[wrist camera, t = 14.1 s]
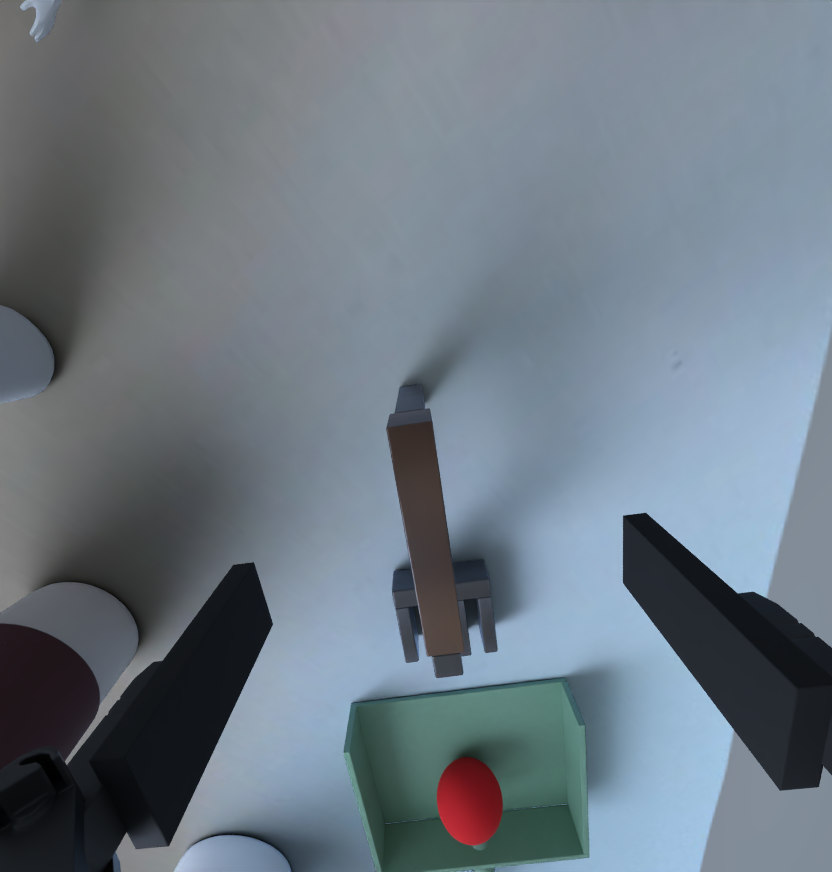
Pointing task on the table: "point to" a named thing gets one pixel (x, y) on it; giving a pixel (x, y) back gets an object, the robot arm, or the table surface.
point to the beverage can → (22, 357)
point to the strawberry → (469, 801)
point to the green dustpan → (481, 739)
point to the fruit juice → (232, 856)
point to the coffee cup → (59, 665)
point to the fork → (431, 549)
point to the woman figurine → (42, 16)
